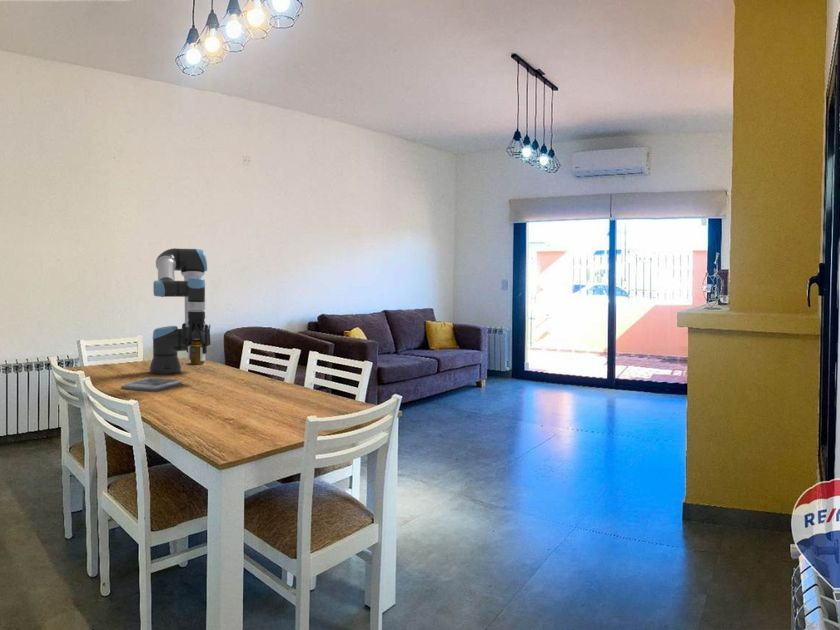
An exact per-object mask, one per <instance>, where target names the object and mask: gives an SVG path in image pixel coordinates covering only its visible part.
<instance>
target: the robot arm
mask: <svg viewBox="0 0 840 630" xmlns="http://www.w3.org/2000/svg"><path fill="white" fill-rule="evenodd" d="M207 261H208V260H207V256H206V252H205V250H204V249H200V248H199V249H197V248H177V247H175V248H169V249H166V250H164V251H163V252H161V253H160V254H159V255H157V258H156V260H155V268H156V269H157V280H154V281H153V282H152V283H153V289H152V291H153V296H154V297H159V298H160V297H161V298H164V297H165V298H166V297H167V298H169V297H170V298H171V297H173V298H174V297H178V298H181V297H182V298H183V297H184V322H183V323H182V324H181V328H178V326H177V325H169V326H162V327H157V328H155V329H154V330H153V331H152V359H151V363H150V367H149V373H150V374H153V375H169V374H176V373H181V372H182V365H181V363H180V359H179V357H178V353H179V352H186V353H187V361H191V344H192V339H194V338H200V341H201V345H202V346H201V347H200V361H204V362H205V361H206V354H207V352H208V351H207V350H208V349H207V348H208V347H209V346H211V345H212V344H211V324H208V323H206V322H205V319H206V296H205V295H206V280H205V278H204V275H205V272H207V271H208V262H207ZM175 271H180V274H181V276H182V277H183V278H184V279H183V280H175V279H176V278H175Z"/></svg>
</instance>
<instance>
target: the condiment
mask: <svg viewBox="0 0 840 630" xmlns="http://www.w3.org/2000/svg"><path fill="white" fill-rule="evenodd" d="M201 346H202V345H201V341H200V338H194V339H192V344H191V360H190V362H188V363H187V362H184V363H183V365H186V366H189V367H194V366H206V365H208V364H207V363H205V361H200V347H201Z"/></svg>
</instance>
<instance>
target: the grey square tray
mask: <svg viewBox="0 0 840 630" xmlns="http://www.w3.org/2000/svg"><path fill="white" fill-rule="evenodd" d="M183 383H184V382H181V381H180V380H179V379H171V378H159V377H146V378H141V379H139V380H134V381H130V382H126V383H124V385H121V387H120V388H121V389H124V390H131V391H132V390H133V391H140V392H141V391H142V392H151V391H153V392H154V393H155V392H160V391H163V390H167V389H171V388H174V387H178V386H183Z"/></svg>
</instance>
